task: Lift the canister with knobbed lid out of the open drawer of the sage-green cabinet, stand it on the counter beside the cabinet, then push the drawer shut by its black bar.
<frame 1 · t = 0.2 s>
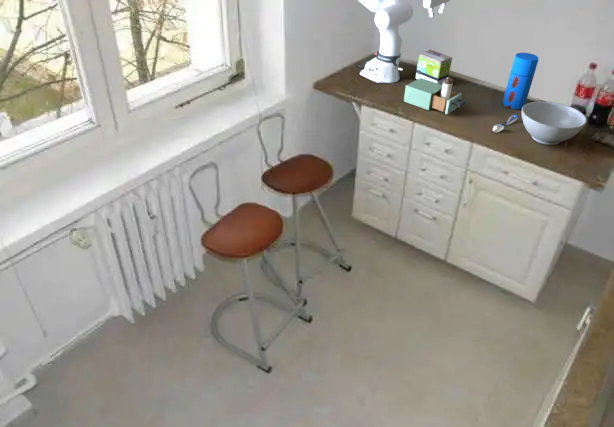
hand: (436, 14, 252), 39 cm above the worktop, tool pointing down, fingers open, 8 cm apart
drawer: (446, 101, 255), point 4 cm above the worktop, slide at 8.5 cm, touching canister with knobbed lid
decorative bowl: (545, 138, 236), on the worktop
tea box: (431, 81, 286), on the worktop
cabinet: (423, 101, 264), on the worktop
thermos: (513, 105, 264), on the worktop
canister with knobbed lid: (443, 104, 257), point 2 cm above the worktop, touching drawer
silver spoon: (505, 125, 245), on the worktop
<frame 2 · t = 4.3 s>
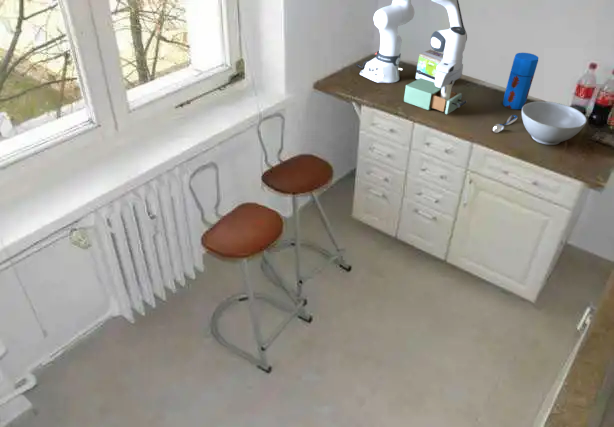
hand: (446, 91, 253), 9 cm above the worktop, tool pointing down, fingers closed on canister with knobbed lid, 4 cm apart
canister with knobbed lid: (443, 104, 257), point 2 cm above the worktop, touching drawer, gripper
everything else where it was.
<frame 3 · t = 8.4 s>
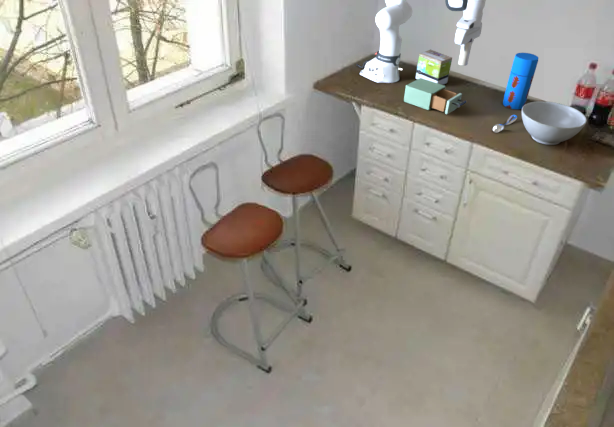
hand: (465, 49, 256), 25 cm above the worktop, tool pointing down, fingers closed on canister with knobbed lid, 4 cm apart
drawer: (446, 101, 255), point 4 cm above the worktop, slide at 8.5 cm
canister with knobbed lid: (462, 64, 260), point 17 cm above the worktop, touching gripper
everything else where it was.
when the fingers open (7 cm above the worktop, at t = 12.6 s): canister with knobbed lid stays where it is, on the worktop.
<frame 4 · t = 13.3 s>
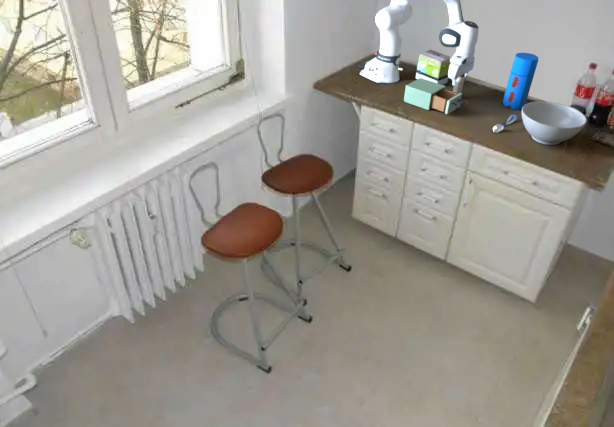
hand: (458, 82, 266), 8 cm above the worktop, tool pointing down, fingers open, 8 cm apart
canister with knobbed lid: (455, 96, 270), on the worktop
everything else where it was.
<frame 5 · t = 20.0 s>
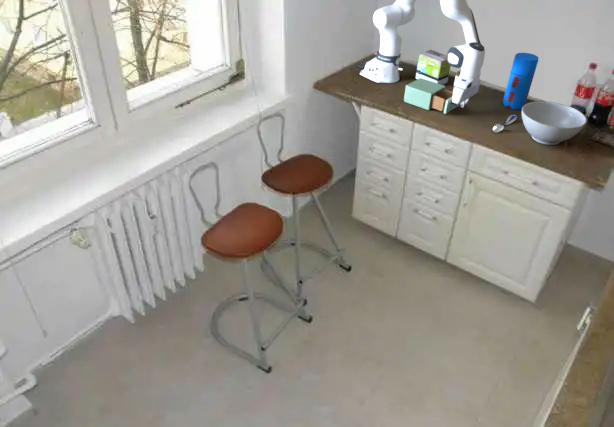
hand: (463, 106, 251), 4 cm above the worktop, tool pointing down, fingers closed, pressing on drawer
drawer: (444, 100, 256), point 4 cm above the worktop, slide at 7.7 cm, touching gripper
everything else where it was.
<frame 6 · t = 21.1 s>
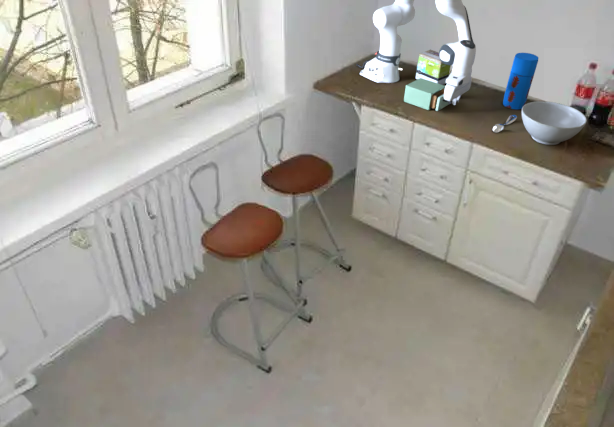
hand: (454, 103, 253), 4 cm above the worktop, tool pointing down, fingers closed, pressing on drawer
drawer: (437, 98, 258), point 4 cm above the worktop, slide at 3.4 cm, touching gripper
everything else where it was.
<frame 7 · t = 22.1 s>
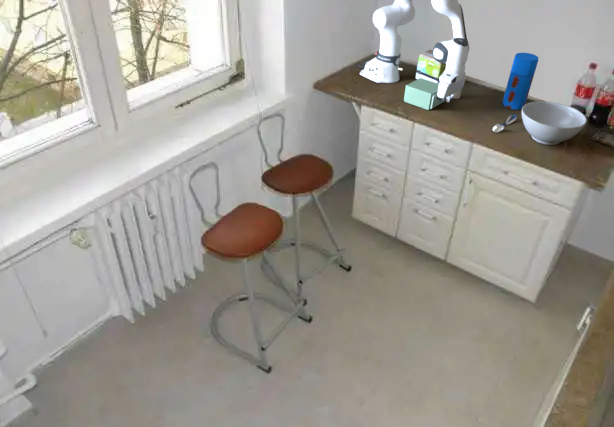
hand: (448, 101, 254), 5 cm above the worktop, tool pointing down, fingers closed, pressing on drawer
drawer: (431, 96, 260), point 4 cm above the worktop, slide at 0.0 cm, touching cabinet, gripper
everything else where it was.
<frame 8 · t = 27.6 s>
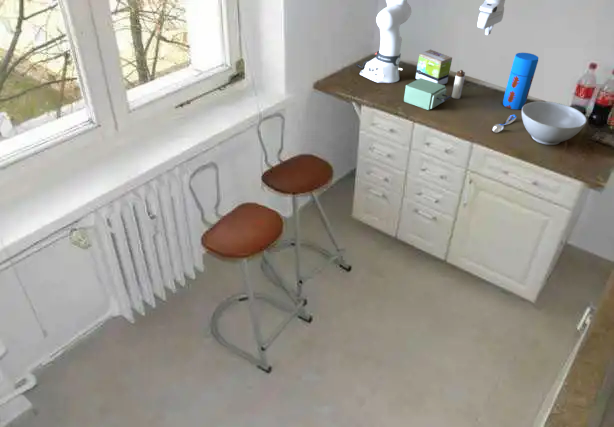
hand: (487, 34, 255), 31 cm above the worktop, tool pointing down, fingers closed
drawer: (431, 96, 260), point 4 cm above the worktop, slide at 0.0 cm, touching cabinet
everything else where it was.
at the end: canister with knobbed lid inside the target area (0.1 cm from its centre), on the worktop; canister with knobbed lid tilted 0°; drawer slide at 0.0 cm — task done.
